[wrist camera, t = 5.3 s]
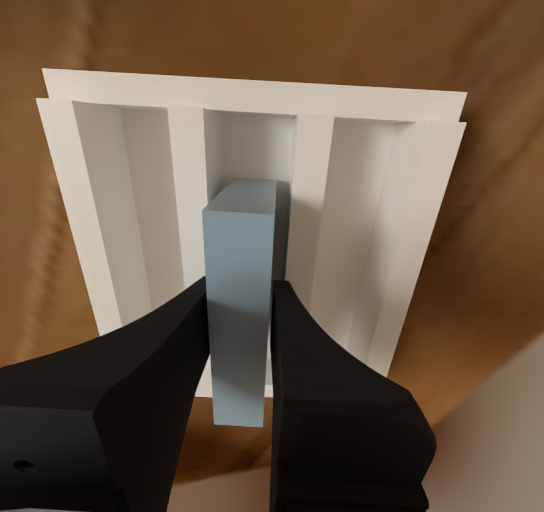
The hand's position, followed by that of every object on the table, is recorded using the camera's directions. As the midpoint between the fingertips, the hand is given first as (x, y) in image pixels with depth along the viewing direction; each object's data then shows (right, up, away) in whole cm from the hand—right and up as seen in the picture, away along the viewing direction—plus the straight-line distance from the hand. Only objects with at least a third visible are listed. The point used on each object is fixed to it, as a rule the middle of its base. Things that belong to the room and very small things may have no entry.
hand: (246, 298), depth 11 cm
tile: (0, +1, +3) cm, 4 cm away
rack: (0, +2, +4) cm, 5 cm away
